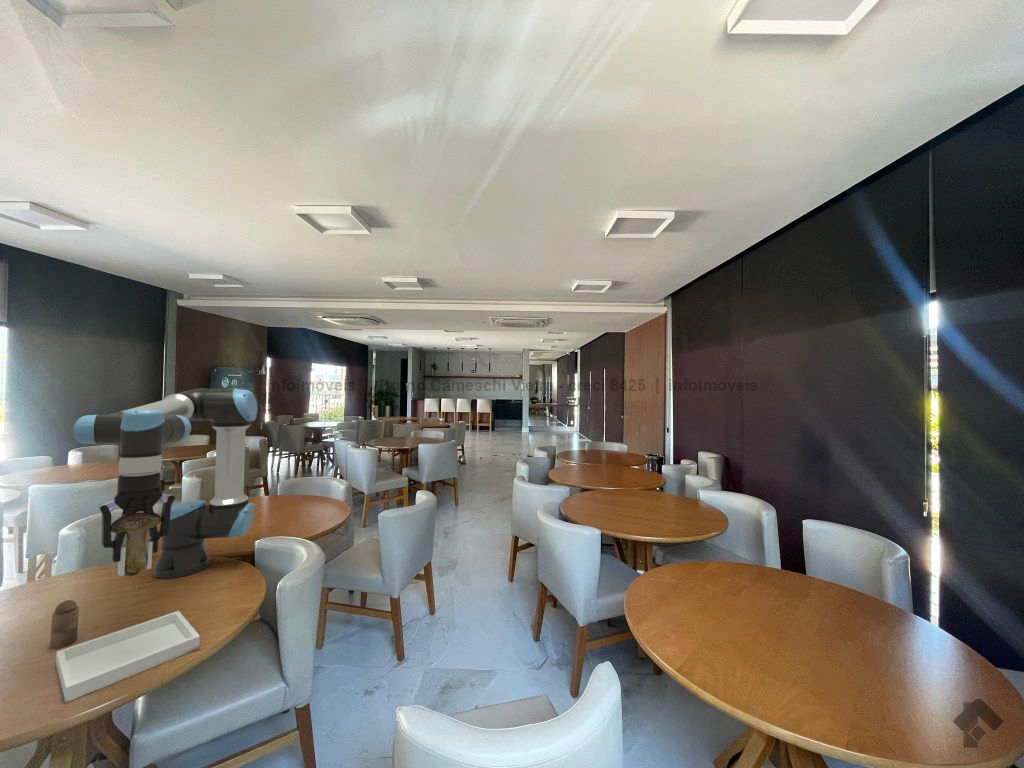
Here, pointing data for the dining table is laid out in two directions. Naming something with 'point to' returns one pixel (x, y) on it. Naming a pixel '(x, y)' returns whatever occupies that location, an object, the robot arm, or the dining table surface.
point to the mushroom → (135, 538)
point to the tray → (123, 654)
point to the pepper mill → (64, 625)
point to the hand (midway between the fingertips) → (134, 570)
